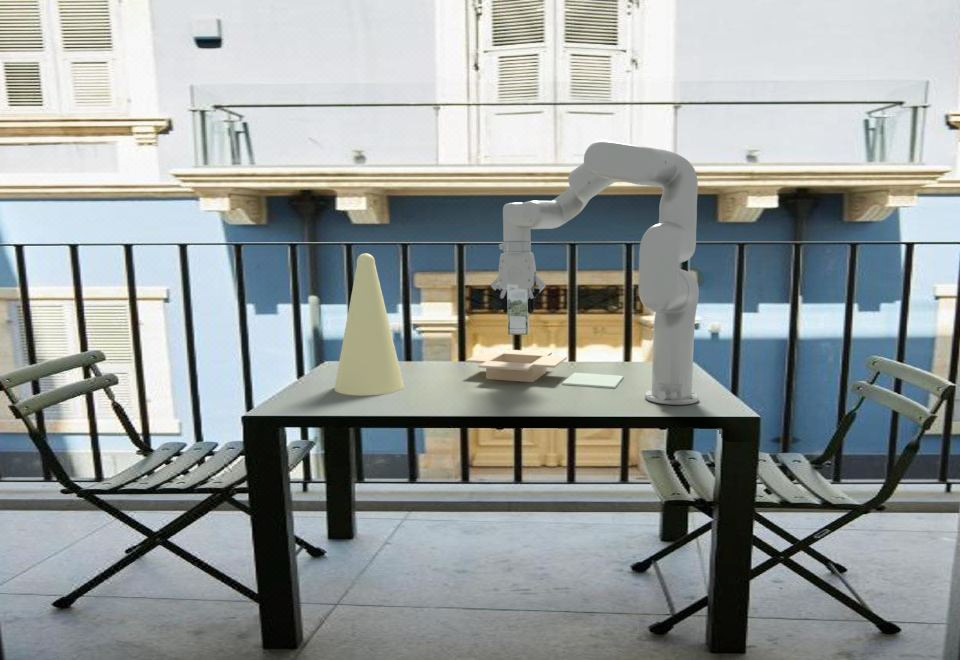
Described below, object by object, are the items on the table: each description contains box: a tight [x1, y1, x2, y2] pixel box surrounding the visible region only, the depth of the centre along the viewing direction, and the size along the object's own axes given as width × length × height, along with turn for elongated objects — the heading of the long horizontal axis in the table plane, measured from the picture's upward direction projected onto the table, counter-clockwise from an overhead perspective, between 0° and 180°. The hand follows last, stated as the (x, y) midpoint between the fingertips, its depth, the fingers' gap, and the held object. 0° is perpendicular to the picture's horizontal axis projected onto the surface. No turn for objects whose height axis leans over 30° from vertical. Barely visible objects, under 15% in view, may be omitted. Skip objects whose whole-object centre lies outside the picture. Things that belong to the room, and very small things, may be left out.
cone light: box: [333, 253, 405, 397], centre depth 187 cm, size 25×18×35 cm
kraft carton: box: [465, 349, 568, 383], centre depth 199 cm, size 26×26×5 cm
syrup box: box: [507, 284, 530, 336], centre depth 197 cm, size 6×6×14 cm
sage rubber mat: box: [562, 372, 624, 389], centre depth 192 cm, size 14×14×1 cm
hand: (518, 311), depth 197 cm, fingers closed on syrup box, 6 cm apart
